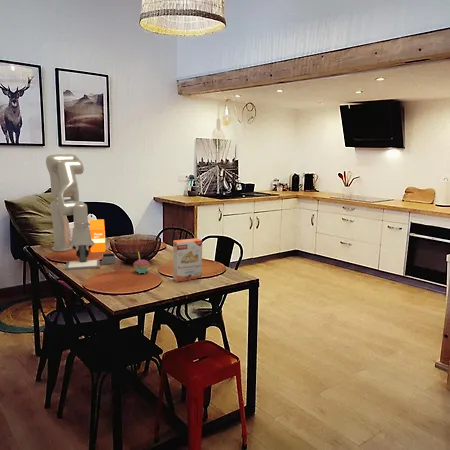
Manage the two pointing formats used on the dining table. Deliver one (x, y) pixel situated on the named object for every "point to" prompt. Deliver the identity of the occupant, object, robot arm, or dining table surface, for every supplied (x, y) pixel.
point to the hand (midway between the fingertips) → (82, 256)
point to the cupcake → (141, 265)
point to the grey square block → (108, 258)
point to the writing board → (82, 264)
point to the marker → (82, 253)
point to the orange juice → (97, 235)
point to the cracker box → (187, 259)
